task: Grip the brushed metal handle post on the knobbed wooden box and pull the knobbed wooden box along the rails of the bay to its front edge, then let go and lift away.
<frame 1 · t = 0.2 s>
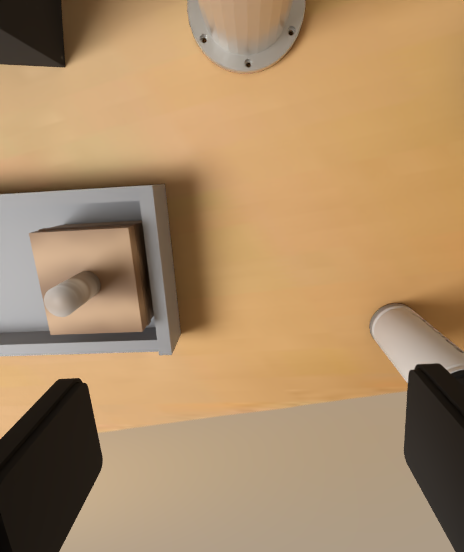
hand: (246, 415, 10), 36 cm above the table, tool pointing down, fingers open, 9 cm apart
knobbed wooden box: (89, 282, 40), point 8 cm above the table, slide at 0.0 cm
bay: (64, 268, 48), on the table
travel mug: (392, 324, 48), on the table
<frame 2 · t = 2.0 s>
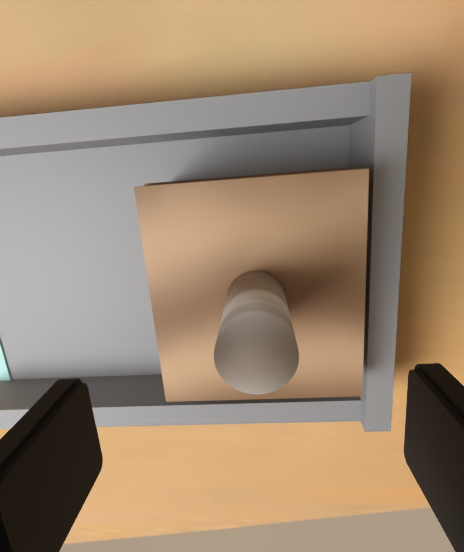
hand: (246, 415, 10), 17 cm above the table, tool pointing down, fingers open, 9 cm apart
knobbed wooden box: (255, 295, 19), point 8 cm above the table, slide at 0.0 cm
bay: (162, 265, 27), on the table
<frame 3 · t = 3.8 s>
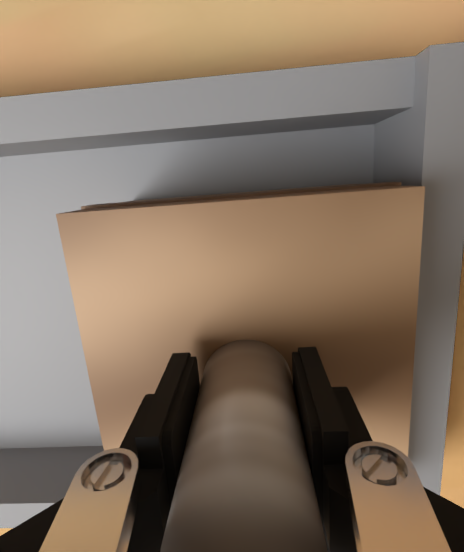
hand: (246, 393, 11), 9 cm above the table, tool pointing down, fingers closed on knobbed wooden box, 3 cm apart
knobbed wooden box: (247, 372, 13), point 8 cm above the table, slide at 0.0 cm, touching gripper
bay: (127, 307, 20), on the table
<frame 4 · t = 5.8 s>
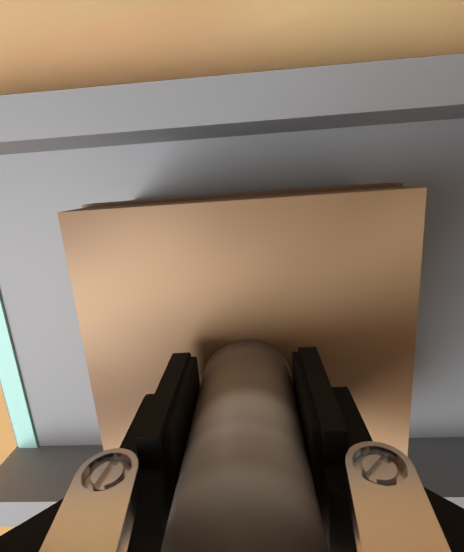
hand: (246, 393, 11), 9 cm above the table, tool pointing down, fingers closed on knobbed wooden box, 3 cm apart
knobbed wooden box: (247, 371, 13), point 8 cm above the table, slide at 7.0 cm, touching gripper
bay: (247, 300, 20), on the table
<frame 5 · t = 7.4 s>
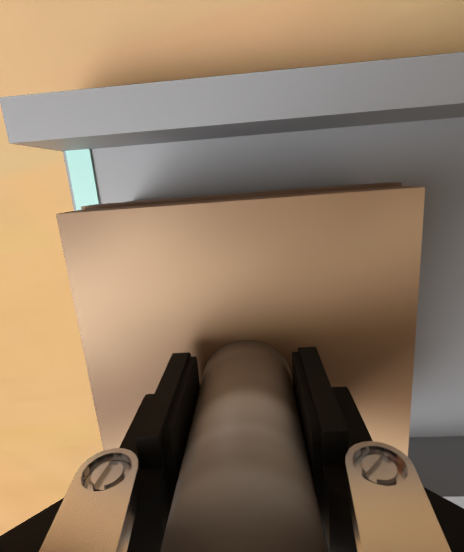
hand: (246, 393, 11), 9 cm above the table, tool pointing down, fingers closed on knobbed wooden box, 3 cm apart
knobbed wooden box: (247, 372, 13), point 8 cm above the table, slide at 13.4 cm, touching gripper
bay: (364, 294, 20), on the table
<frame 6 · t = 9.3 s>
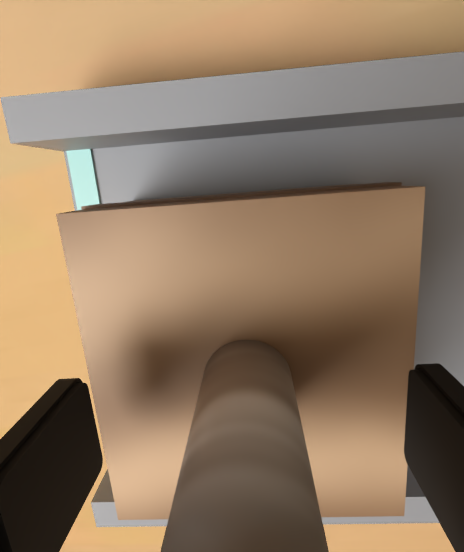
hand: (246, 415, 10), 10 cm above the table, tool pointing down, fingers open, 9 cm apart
knobbed wooden box: (247, 372, 13), point 8 cm above the table, slide at 13.5 cm
bay: (365, 294, 19), on the table
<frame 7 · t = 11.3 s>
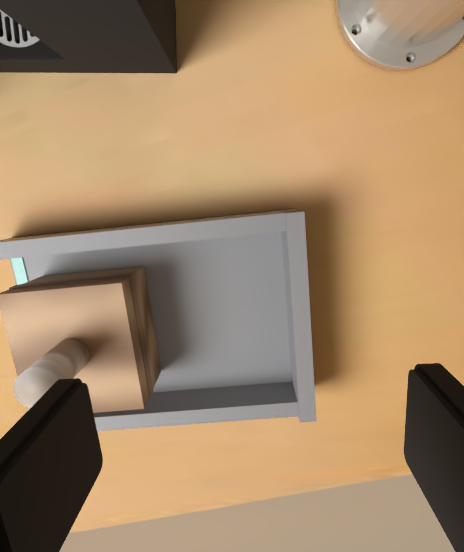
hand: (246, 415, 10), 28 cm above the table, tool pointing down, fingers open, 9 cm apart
knobbed wooden box: (75, 351, 32), point 8 cm above the table, slide at 13.5 cm
bay: (164, 316, 39), on the table
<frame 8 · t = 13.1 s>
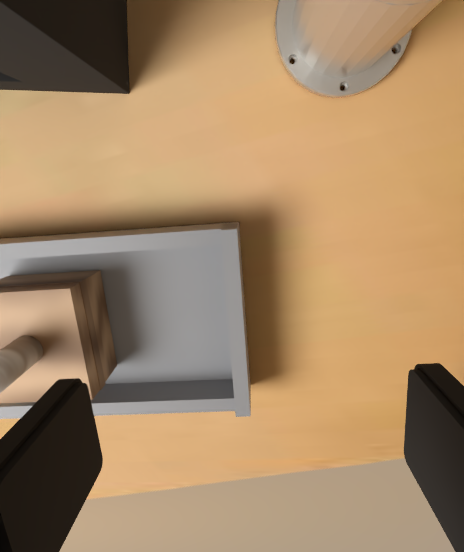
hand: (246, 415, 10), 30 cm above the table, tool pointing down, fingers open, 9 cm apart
knobbed wooden box: (31, 346, 36), point 8 cm above the table, slide at 13.5 cm
bay: (120, 315, 43), on the table
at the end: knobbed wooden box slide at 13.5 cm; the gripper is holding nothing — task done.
